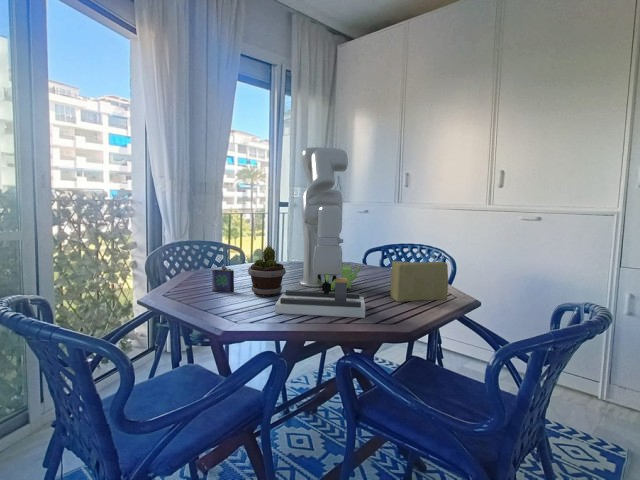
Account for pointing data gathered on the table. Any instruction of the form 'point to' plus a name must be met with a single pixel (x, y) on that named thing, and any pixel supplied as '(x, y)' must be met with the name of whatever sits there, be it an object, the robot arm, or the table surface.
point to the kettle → (345, 276)
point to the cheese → (419, 281)
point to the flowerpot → (266, 274)
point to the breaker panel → (321, 308)
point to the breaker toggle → (340, 289)
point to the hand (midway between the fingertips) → (326, 293)
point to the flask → (223, 279)
